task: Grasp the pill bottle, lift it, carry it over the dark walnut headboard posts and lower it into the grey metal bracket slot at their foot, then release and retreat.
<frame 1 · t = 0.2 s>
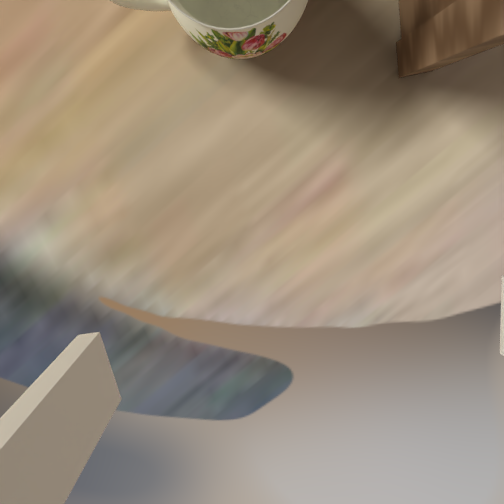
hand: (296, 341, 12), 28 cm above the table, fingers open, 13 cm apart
pitcher: (232, 5, 34), on the table
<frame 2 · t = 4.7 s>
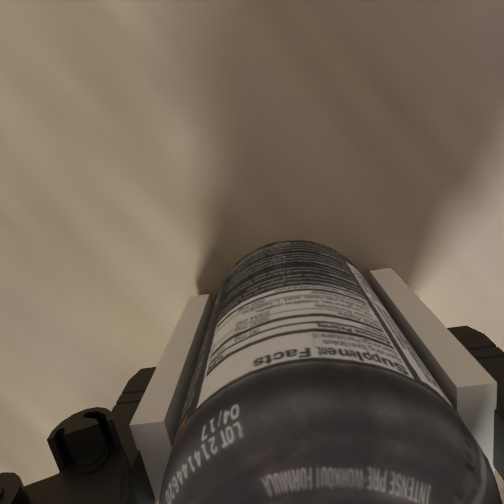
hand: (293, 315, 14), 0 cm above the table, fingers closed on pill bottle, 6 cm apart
pill bottle: (292, 308, 15), on the table, touching gripper
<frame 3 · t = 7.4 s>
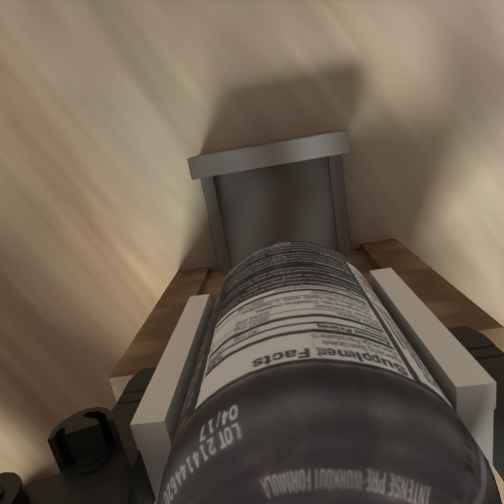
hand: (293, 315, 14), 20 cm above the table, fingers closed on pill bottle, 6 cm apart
pill bottle: (292, 308, 15), point 19 cm above the table, touching gripper
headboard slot: (277, 213, 33), on the table
when the fingers open (2 cm above the table, at t = 10.2 s): pill bottle drops 1 cm, resting on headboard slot.
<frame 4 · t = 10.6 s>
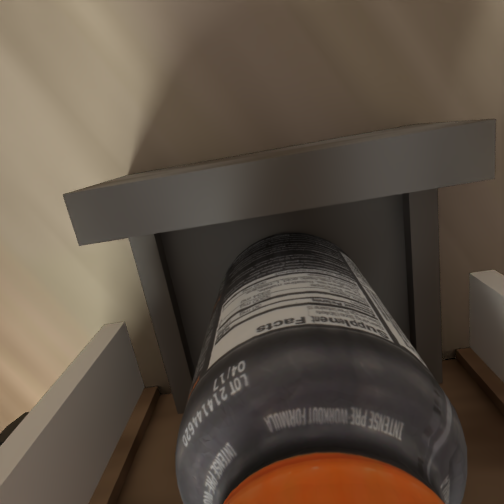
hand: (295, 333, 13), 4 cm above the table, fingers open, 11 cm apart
pill bottle: (290, 296, 16), point 1 cm above the table, touching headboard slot
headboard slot: (289, 290, 16), on the table
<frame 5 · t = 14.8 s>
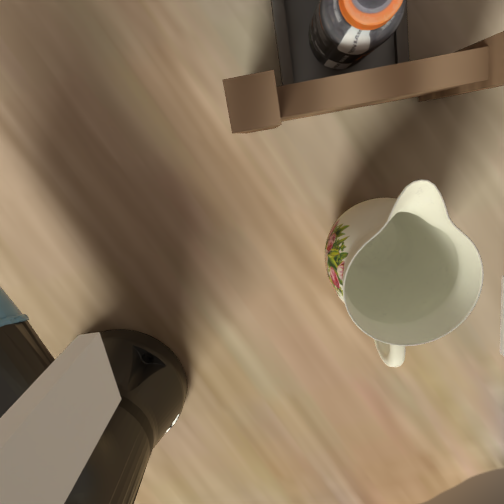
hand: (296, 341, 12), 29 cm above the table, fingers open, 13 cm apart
pill bottle: (340, 34, 34), point 1 cm above the table, touching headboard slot
pitcher: (367, 247, 41), on the table
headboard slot: (338, 36, 35), on the table
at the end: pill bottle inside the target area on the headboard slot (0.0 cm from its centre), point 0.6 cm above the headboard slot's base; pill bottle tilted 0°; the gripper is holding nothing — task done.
